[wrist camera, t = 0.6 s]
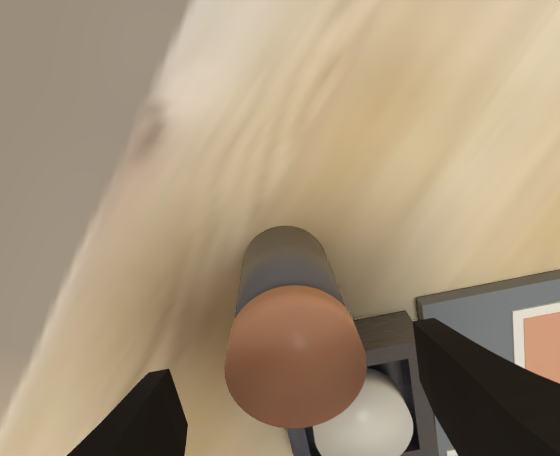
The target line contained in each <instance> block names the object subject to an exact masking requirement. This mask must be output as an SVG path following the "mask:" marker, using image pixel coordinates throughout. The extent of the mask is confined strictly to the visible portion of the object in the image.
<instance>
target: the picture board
mask: <svg viewBox="0 0 560 456" xmlns="http://www.w3.org/2000/svg"><path fill="white" fill-rule="evenodd" d="M417 306H418V315H419V320H424V319H429V318H435V319H437V320H439V321H441V322H442V323H444V324H446V325H447V326H449V327H450V328H452V329H454V330H455V331H457V332H459V333H460V334H462V335H464V336H465V337H467V338H469V339H470V340H472V341H474V342H475V343H477V344H479V345H481V346H482V347H484V348H486V349H488V350H489V351H491V352H493V353H495V354H497V355H499V356H501V357H503V358H504V359H506V360H508V361H511V362H513V363H515V364H517V365H519V366H521V367H523V368H525V369H527V370H529V371H531V372H533V373H536V374H538V375H540V376H543V377H545V378H547V379H550V380H552V381H555V382H557V383H560V270H556V271H551V272H546V273H541V274H536V275H531V276H526V277H521V278H515V279H510V280H505V281H500V282H495V283H490V284H485V285H480V286H474V287H469V288H464V289H459V290H454V291H449V292H444V293H439V294H434V295H428V296H423V297H418V298H417ZM433 420H434V428H435V437H436V446H437V455H438V456H458V454H457V453H456V451H455V449H454V448H453V446H452V444H451V442H450V441H449V439H448V437H447V436H446V434H445V432H444V430H443V429H442V427H441V425H440V423H439V422H438V420H437V418H436V416H435V415H434V413H433Z"/></svg>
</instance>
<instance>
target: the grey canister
mask: <svg viewBox="0 0 560 456" xmlns="http://www.w3.org/2000/svg"><path fill="white" fill-rule="evenodd" d="M366 372H367V360H366V354H365V350H364V347H363V344H362V342H361V339H360V337H359V334H358V331H357V329H356V326H355V324H354V321H353V319H352V317H351V315H350V313H349V312H348V310H347V309H346V308H345V306H344V303H343V300H342V297H341V295H340V292H339V289H338V287H337V284H336V281H335V279H334V276H333V273H332V270H331V268H330V265H329V262H328V260H327V257H326V254H325V252H324V249H323V247H322V246H321V244H320V243H319V241H318V240H317V239H316V238H315V237H314V236H313V235H311V234H310V233H309V232H307V231H305V230H303V229H300V228H297V227H291V226H280V227H274V228H271V229H268V230H266V231H264V232H262V233H261V234H259V235H258V236H257V237H256V238H255V239H254V240H253V241H252V242H251V243H250V245H249V246H248V248H247V250H246V252H245V255H244V259H243V266H242V273H241V280H240V287H239V294H238V301H237V308H236V315H235V320H234V322H233V324H232V327H231V331H230V335H229V341H228V348H227V354H226V361H225V378H226V383H227V386H228V389H229V391H230V393H231V395H232V397H233V399H234V400H235V401H236V403H237V404H238V405H239V406H240V407H241V408H242V409H243V410H244V411H245V412H246V413H248V414H249V415H250V416H252V417H254V418H255V419H257V420H259V421H261V422H263V423H266V424H269V425H272V426H276V427H282V428H305V427H311V426H315V425H319V424H321V423H324V422H327V421H329V420H331V419H333V418H334V417H336V416H338V415H339V414H341V413H342V412H343V411H344V410H346V409H347V408H348V407H349V406H350V405H351V404H352V403H353V401H354V400H355V399H356V397H357V396H358V394H359V393H360V391H361V389H362V387H363V384H364V381H365V377H366Z"/></svg>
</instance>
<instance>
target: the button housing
mask: <svg viewBox="0 0 560 456" xmlns="http://www.w3.org/2000/svg"><path fill="white" fill-rule="evenodd" d="M354 324H355V326H356V329H357V331H358V334H359V337H360V339H361V342H362V344H363V347H364V350H365V354H366V360H367V368H369V369H374V370H377V371H379V372H381V373H383V374H385V375H387V376H388V377H390V378H391V379H392V380H393V381H394V382H395V384H396V385H397V387H398V388H399V390H400V392H401V395H402V397H403V399H404V401H405V404H406V406H407V408H408V410H409V412H410V415H411V417H412V421H413V434H412V438H411V441H410V443H409V445H408V447H407V448H406V450H405V451H404V452H403V453H402V454H401V455H400V456H438V455H437V446H436V437H435V428H434V420H433V411H432V408H431V406H430V404H429V401H428V399H427V397H426V394H425V392H424V390H423V387H422V385H421V382H420V379H419V370H418V362H417V354H416V345H415V337H414V329H413V321H412V320H411V318H410V317H409V315H408V313H407V312H406V311H402V312H397V313H392V314H387V315H382V316H377V317H372V318H366V319H361V320H356V321H354ZM287 431H288V435H289V439H290V443H291V447H292V451H293V455H294V456H322V455H321V454H320V453H319V451H318V449H317V447H316V444H315V440H314V432H313V426H311V427H305V428H287Z"/></svg>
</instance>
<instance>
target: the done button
mask: <svg viewBox="0 0 560 456" xmlns="http://www.w3.org/2000/svg"><path fill="white" fill-rule="evenodd" d="M313 432H314V440H315V444H316V447H317V449H318V451H319V453H320V454H321V455H322V456H400V455H401V454H402V453H403V452H404V451H405V450H406V448H407V447H408V445H409V443H410V441H411V438H412V434H413V421H412V417H411V415H410V412H409V410H408V408H407V406H406V404H405V401H404V399H403V397H402V395H401V392H400V390H399V388H398V387H397V385H396V384H395V382H394V381H393V380H392V379H391V378H390V377H388V376H387V375H385V374H383V373H381V372H379V371H377V370H374V369H369V368H367V372H366V377H365V381H364V384H363V387H362V389H361V391H360V393H359V394H358V396H357V397H356V399H355V400H354V401H353V403H352V404H351V405H350V406H349V407H348V408H347V409H346V410H344V411H343V412H342V413H341V414H339V415H338V416H336V417H334V418H333V419H331V420H329V421H327V422H324V423H321V424H319V425H315V426H313Z"/></svg>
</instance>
